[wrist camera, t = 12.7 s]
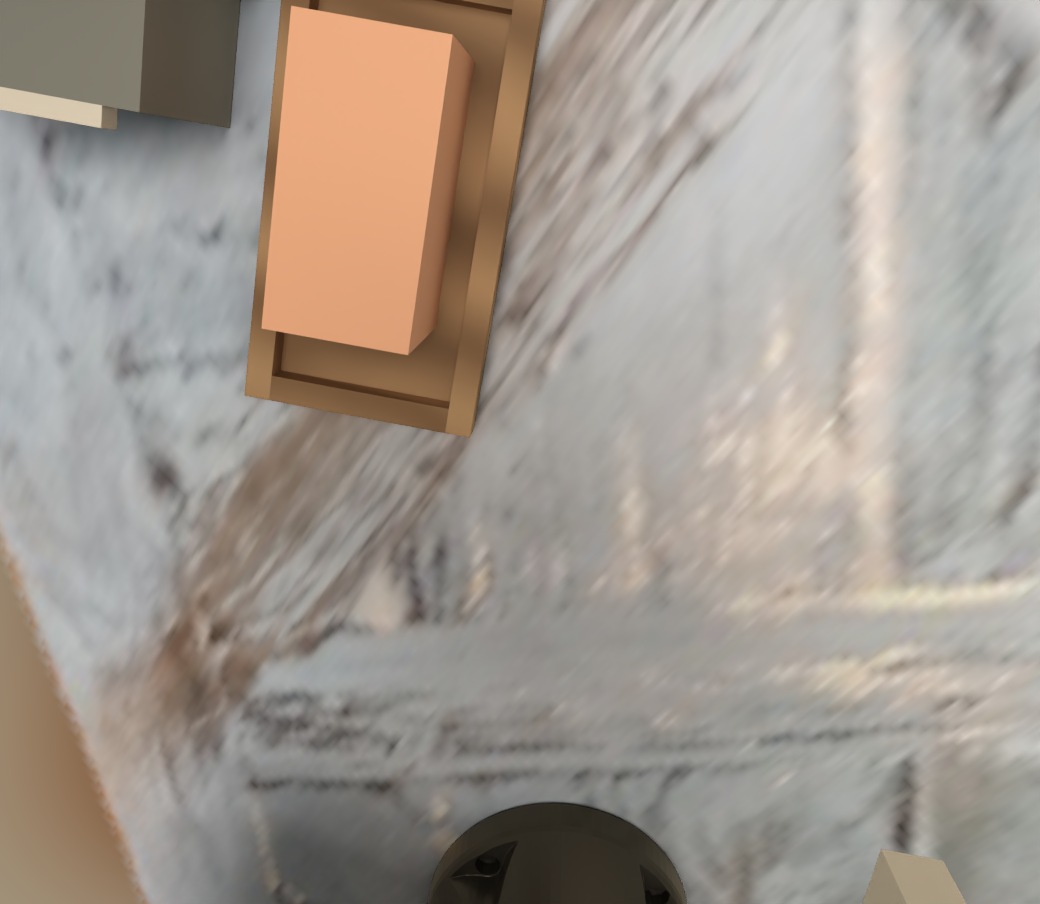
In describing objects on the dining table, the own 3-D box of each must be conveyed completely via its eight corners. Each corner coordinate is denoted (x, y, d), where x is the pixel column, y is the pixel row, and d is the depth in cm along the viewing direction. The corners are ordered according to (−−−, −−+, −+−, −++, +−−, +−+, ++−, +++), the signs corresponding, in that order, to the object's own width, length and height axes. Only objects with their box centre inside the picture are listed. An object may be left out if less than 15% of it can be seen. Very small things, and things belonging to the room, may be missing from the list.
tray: (474, 427, 46) (469, 437, 44) (258, 386, 46) (244, 395, 44) (547, -7, 40) (545, -17, 38) (301, -52, 40) (287, -64, 38)
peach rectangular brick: (435, 327, 44) (408, 355, 37) (313, 305, 44) (261, 328, 37) (474, 61, 41) (452, 34, 33) (341, 37, 41) (291, 5, 34)
